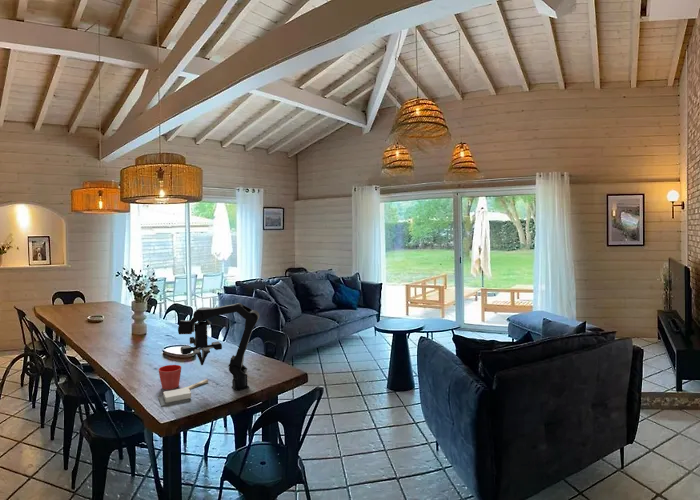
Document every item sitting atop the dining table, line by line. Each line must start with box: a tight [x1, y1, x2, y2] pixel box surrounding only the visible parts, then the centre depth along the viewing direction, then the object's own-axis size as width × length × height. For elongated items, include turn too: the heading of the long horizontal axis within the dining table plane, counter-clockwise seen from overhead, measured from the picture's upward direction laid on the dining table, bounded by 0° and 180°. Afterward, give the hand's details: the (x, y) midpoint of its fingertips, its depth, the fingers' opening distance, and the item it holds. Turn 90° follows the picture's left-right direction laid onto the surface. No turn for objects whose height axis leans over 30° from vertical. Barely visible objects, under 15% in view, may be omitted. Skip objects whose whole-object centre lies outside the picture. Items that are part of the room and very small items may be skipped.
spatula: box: [183, 378, 209, 391], centre depth 220 cm, size 18×4×1 cm, turn 144°
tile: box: [162, 386, 192, 403], centre depth 206 cm, size 3×8×11 cm
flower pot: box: [158, 364, 182, 391], centre depth 221 cm, size 11×11×10 cm
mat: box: [157, 395, 190, 408], centre depth 206 cm, size 12×12×1 cm
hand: (201, 365), depth 218 cm, fingers closed
